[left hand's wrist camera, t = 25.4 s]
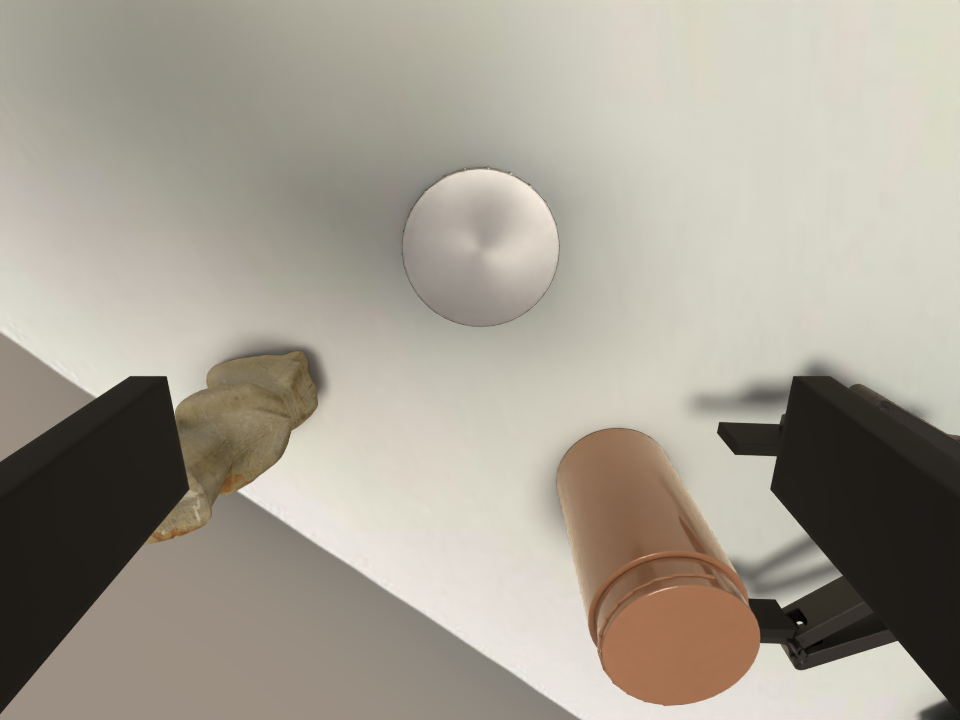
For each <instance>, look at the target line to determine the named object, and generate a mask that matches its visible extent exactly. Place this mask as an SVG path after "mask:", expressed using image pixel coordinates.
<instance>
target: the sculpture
mask: <svg viewBox="0 0 960 720" xmlns="http://www.w3.org/2000/svg"><path fill="white" fill-rule="evenodd" d="M207 386H208V389H205V390H201V391H199V392H196V393H194V394H192V395H191V396H189V397H187V398H186V399H184V400H183V401H182V402H181V403H180V404H179V405H178V406H177V408H176V410H175V418H176V424H177V429H178V434H179V439H180V444H181V449H182V454H183V459H184V464H185V469H186V474H187V479H188V483H189V488H190V490H189V491H188V492H187V493H186V494H185V496H184V497H183V498H182V499H181V500H180V501H179V503H178V504H177V505H176V506H175V507H174V509H173V510H172V511H171V512H170V513H169V514H168V516H167V517H166V518H165V519H164V520H163V522H162V523H161V524H160V525H159V526H158V528H157V529H156V530H155V531H154V532H153V533H152V535H151V536H150V537H149V538H148V539H147V541H146V542H145V543H144V544H143V545H145V544H152V543H156V542H160V541H164V540H169V539H173V538H176V537H179V536H182V535H185V534H187V533H189V532H191V531H194V530H196V529H198V528H200V527H202V526H204V525H205V524H207V523H208V522H209V521H210V519H211V516H212V509H211V507H212V505H213V504H214V502H215V500H216V498H217V496H218V495H219V494H222V495H229V494H231V493H233V492H235V491H237V490H239V489H240V488H242V487H244V486H246V485H248V484H249V483H251V482H252V481H254V480H255V479H256V478H257V477H258V476H259V475H261V474H262V473H264V472H265V471H266V470H268V469H269V468H270V467H271V466H273V465H274V464H275V463H276V462H277V461H278V460H279V459H280V458H281V457H282V455H283V454H284V452H285V449H286V447H287V445H288V441H289V438H290V434H291V431H292V430H293V429H295V428H297V427H298V426H299V425H301V424H302V423H303V422H305V421H306V420H307V419H308V418H309V417H310V416H311V415H312V414H313V412H314V411H315V409H316V408H317V406H318V399H317V390H316V386H315V383H314V381H313V380H311V377H310V375H309V373H308V362H307V360H306V358H305V355H304V353H303V352H301V351H294V352H290V353H288V354H286V355H261V356H254V357H247V358H240V359H235V360H232V361H228V362H224V363H221V364H218V365H215V366H214V367H213V368H212V369H211V370H210V371H209V372H208V374H207Z"/></svg>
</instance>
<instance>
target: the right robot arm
mask: <svg viewBox="0 0 960 720" xmlns="http://www.w3.org/2000/svg"><path fill="white" fill-rule="evenodd" d="M849 389H850V390H852V391H853V392H855V393H856V394H858V395H859V396H861V397H862V398H864V399H865V400H867V401H868V402H870V403H871V404H873V405H874V406H876V407H877V408H879V409H880V410H882V411H883V412H885V413H886V414H888V415H889V416H891V417H892V418H894V419H895V420H897V421H899V422H900V423H902V424H903V425H905V426H906V427H908V428H909V429H911V430H912V431H914V432H915V433H917V434H918V435H920V436H921V437H923V438H924V439H926V440H927V441H929V442H930V443H932V444H933V445H935V446H936V447H938V448H939V449H941V450H942V451H944V452H945V453H947V454H948V455H950V456H952V457H953V458H955V459H956V460H958V461H959V462H960V436H957V435H950V434H946V433H945V432H943V431H941V430H939V429H938V428H936V427H934V426H933V425H931V424H929V423H927V422H926V421H924V420H922V419H921V418H919V417H917V416H915V415H914V414H912V413H910V412H908V411H907V410H905V409H903V408H902V407H900V406H898V405H896V404H895V403H893V402H891V401H890V400H888V399H886V398H884V397H883V396H881V395H879V394H878V393H876V392H874V391H872V390H871V389H869V388H867V387H865V386H864V385H861V384H855V385H853V386H851V387H850V388H849ZM785 415H786V414H783V415H782V417H781V421H780V424H757V423H729V422H719V426H718V431H717V434H718V435H719V436H720V437H721V438H722V440H723V441H724V442H725V443H726V444H727V446H728V447H729V448H730V449H731V450H732V452H733V453H734V454H735V455H757V456H777V454H778V449H779V444H780V439H781V434H782V430H783V425H784V420H785ZM748 601H749V606H750V608H751V610H752V611H753V613H754V615H755V617H756V619H757V621H758V625H759V629H760V643H776V644H781V646H782V648H783V649H784V651H785V653H786V654H787V656H788V658H789V659H790V661H791V662H792V664H793V666H794V667H795V669H797V670H805V669H808V668H812V667H815V666H818V665H821V664H825V663H828V662H831V661H834V660H837V659H841V658H844V657H847V656H850V655H854V654H857V653H860V652H863V651H866V650H870V649H873V648H876V647H879V646H883V645H886V644H889V643H892V642H895V641H898V640H897V639H896V638H895V637H894V635H893V634H892V633H891V632H890V631H889V629H888V628H887V627H886V626H885V625H884V624H883V622H882V621H881V620H880V619H879V618H878V616H877V615H876V614H875V613H874V612H873V611H872V609H871V608H870V607H869V606H868V605H867V603H866V602H865V601H864V600H863V599H862V597H861V596H860V595H859V594H858V593H857V592H856V590H855V589H854V588H853V587H852V586H851V584H850V583H849V582H848V581H847V580H846V579H845V577H844V576H841V577H840V578H838V579H836V580H834V581H832V582H830V583H828V584H827V585H825V586H823V587H821V588H819V589H817V590H815V591H814V592H812V593H810V594H808V595H806V596H804V597H802V598H801V599H799V600H797V601H795V602H793V603H791V604H789V605H788V606H786V607H784V608H782V609H781V607H780V606H779V604H778V603H777V601H776V600H774V599H748ZM798 621H801V622H803V623H802V624H799V625H798V624H797V622H798Z"/></svg>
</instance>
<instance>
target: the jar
mask: <svg viewBox="0 0 960 720" xmlns="http://www.w3.org/2000/svg"><path fill="white" fill-rule="evenodd" d="M557 489H558V494H559V498H560V502H561V507H562V511H563V516H564V520H565V525H566V529H567V534H568V538H569V542H570V547H571V551H572V556H573V560H574V565H575V569H576V574H577V578H578V582H579V587H580V591H581V596H582V600H583V605H584V609H585V613H586V618H587V622H588V627H589V631H590V635H591V637H592V640H593V642H594V644H595V645H596V647H597V648H598V650H597V651H598V655H599V658H600V661H601V664H602V667H603V670H604V671H605V672H606V674H607V675H608V676H609V678H610V679H611V680H612V682H613V684H615V685H616V686H618V687H619V688H620V689H622V690H623V691H624V692H626V693H627V694H628V695H631V696H633V697H635V698H637V699H640V700H643V701H644V702H649V703H654V704H661V705H663V706H670V705H684V704H690V703H695V702H699V701H703V700H706V699H708V698H711V697H714V696H716V695H718V694H720V693H722V692H724V691H725V690H727V689H729V688H730V687H732V686H733V685H734V684H735V683H737V682H738V681H739V680H740V679H741V678H742V677H743V676H744V675H745V674H746V673H747V671H748V670H749V669H750V668H751V666H752V664H753V663H754V661H755V659H756V656H757V654H758V650H759V646H760V629H759V625H758V621H757V619H756V617H755V615H754V613H753V611H752V610H751V608H750V606H749V601H748V595H747V591H746V588H745V586H744V584H743V582H742V580H741V579H740V577H739V575H738V574H737V572H736V570H735V569H734V567H733V565H732V564H731V562H730V560H729V559H728V557H727V555H726V554H725V552H724V550H723V549H722V547H721V545H720V544H719V542H718V540H717V539H716V537H715V535H714V534H713V532H712V530H711V529H710V527H709V525H708V524H707V522H706V520H705V519H704V517H703V515H702V514H701V512H700V510H699V509H698V507H697V505H696V504H695V502H694V500H693V499H692V497H691V495H690V494H689V492H688V491H687V489H686V487H685V486H684V484H683V482H682V481H681V479H680V477H679V476H678V474H677V472H676V471H675V469H674V467H673V466H672V464H671V462H670V461H669V459H668V457H667V456H666V454H665V452H664V451H663V449H662V448H661V447H660V446H659V445H658V443H657V442H655V441H654V440H653V439H652V438H650V437H648V436H647V435H645V434H643V433H640V432H638V431H634V430H631V429H624V428H613V429H605V430H601V431H598V432H595V433H592V434H590V435H588V436H586V437H584V438H583V439H581V440H579V441H578V442H577V443H576V444H574V445H573V446H572V447H571V448H570V449H569V451H568V452H567V453H566V455H565V456H564V458H563V459H562V461H561V464H560V466H559V469H558V473H557ZM600 652H601V653H600Z"/></svg>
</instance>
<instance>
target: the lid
mask: <svg viewBox="0 0 960 720" xmlns="http://www.w3.org/2000/svg"><path fill="white" fill-rule="evenodd" d="M531 187H532V185H530V184H529V183H528V184H527V183H525V182H524V181H523V180H521V179H520V178H518V177H516V176H514V175H512V173H511V172H509V173H508V172H505V171H502V170H498V169H493V168H489V166H487V168H482V167H477V168H468V169H467V168H464V170H459V171H457V172H454V173H451V174H449V175H447V176H446V175H444V176H443V177H442V179H440V180H439V181H437V182H436V183H435V184H433V185H432V186H431V187H430V188H429V189H426V190H425V191H424V192H425V193H424V194H423V195H422V196H421V197H420V198H419V200H418V201H417V202H416V203H415V205H414V207H413V208H411V210H410V211H411V212H410V214H409V217H408V219H407V222H406V225H405V229H404V230H403V240H402V256H403V263H404V267H405V271H406V274H407V276H408V279H409V281H410V283H411V285H412V287H413V289H414V290H415V292H416V293H417V295H418V296H419V297H420V299H421V300H422V301H423V302H424V303H425V304H426V305H427V306H428V307H429V308H431V309H432V310H433V311H434V312H436V313H437V314H439V315H441V316H442V317H444V318H446V319H448V320H450V321H453V322H456V323H459V324H462V325H468V326H477V327H485V326H494V325H499V324H503V323H506V322H508V321H511V320H513V319H515V318H517V317H519V316H521V315H523V314H524V313H526V312H527V311H528V310H530V309H531V308H532V307H533V306H534V305H535V304H536V303H537V302H538V301H539V300H540V299H541V298H542V297H543V295H544V294H545V292H546V291H547V289H548V288H549V286H550V284H551V282H552V280H553V277H554V275H555V272H556V269H557V264H558V260H559V247H560V245H559V236H558V231H557V227H556V225H557V224H556V222H555V220H554V218H553V216H552V214H551V211H550V209H549V208H548V206H547V205H546V204H547V202H546V201H544V200H543V199H542V198H541V197H540V195H539V194H538V193H537V192H536V191H535V190H534V189H533V188H531Z"/></svg>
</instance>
